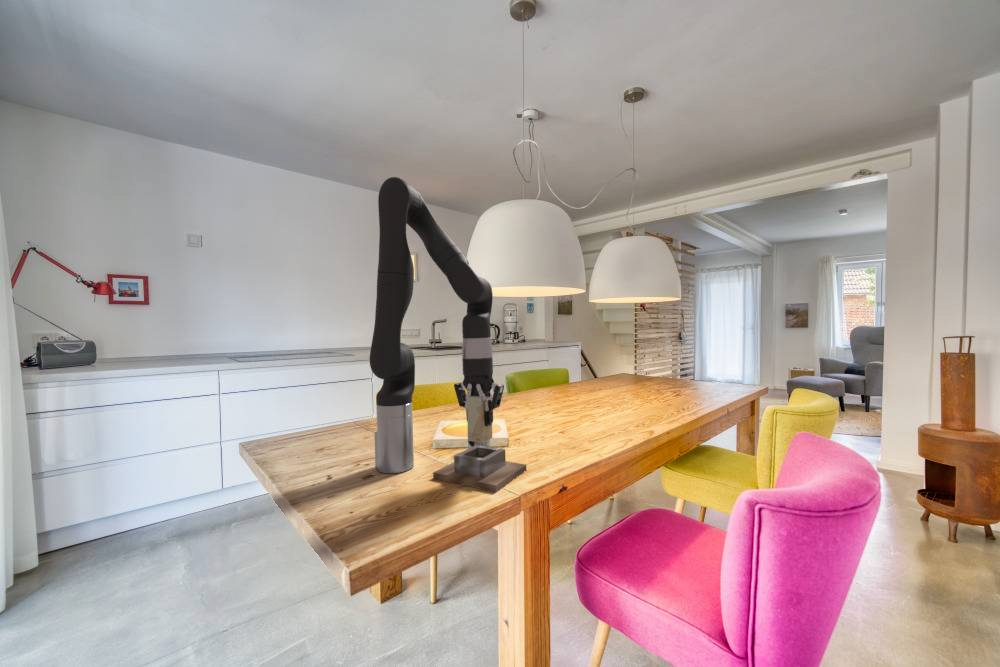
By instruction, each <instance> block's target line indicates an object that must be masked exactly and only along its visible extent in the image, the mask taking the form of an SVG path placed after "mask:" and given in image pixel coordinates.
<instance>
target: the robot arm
mask: <svg viewBox="0 0 1000 667" xmlns="http://www.w3.org/2000/svg"><path fill="white" fill-rule="evenodd" d="M377 197H378V198H377V199H378V201H377V204H378V206H377V207H378V222H379V227H378V228H379V239H378V240H379V243H378V266H377V277H376V279H377V280H376V301H375V313H374V315H375V317H374V326H373V332H372V340H371V344H370V345H371V346H370V352H369V366H370V370H371V372H372V373H373V375H374V376H376V377H377V378H378V379H381V380H382V382H383V384H382V386H381V388H380V389H379V391H378V392H377V393H376V396H375V397H376V398H375V402H376V404H375V405H376V406H375V407H376V431H375V432H374V460H375V461H374V462H375V463H374V465H375V466H374V467H375V469H377V470H378V472H381V473H383V474H398V473H399V474H400V473H403V472H407V471H409V470H411V469H412V468H414V465H415V463H414V459H415V458H414V430H413V429H414V421H413V420H414V418H413V417H414V416H413V394H414V390H415V384H416V383H415V382H416V380H415V379H416V367H415V366H416V364H415V362H416V361H415V355H414V352H413V350H412V349H411V347H410V346H409V345H408V344H406V343H403V342H401V337H402V336H401V335H402V326H403V325H402V324H403V320H404V318H405V316H406V314H407V311H408V308H409V306H410V304H411V301H412V298H413V294H414V293H413V292H414V280H415V271H414V270H415V269H414V261H413V258H412V253H411V250H410V247H409V244H408V239H407V225H408V226H409V227H410V228H411V229H412V230H413V231H414V232H415V233H416V234H417V235H418V237H419V238H420V240H421V241H422V243H423V245H424V247H425V249H426V251H427V253H428V255H429V257H430V258H431V260H432V261H433V262H434V263H435V265H436V266H437V267H438V269H439V270H440V271H441V272H442V273H443V275H445V277H446V278H447V281H448V283H449V284H450V286H451V289H453V291H454V293H455V294H456V295H457V298H459V299H460V300H461V301H462V302H464V303H466V315H464V316H463V318H462V325H461V326H462V328H461V329H462V330H461V331H462V332H461V333H462V344H461V355H462V356H461V357H462V358H461V360H462V362H461V363H462V375H463V380H462V381H461V382H457V383H454V384H453V388H454V392H455V395H456V399H457V403H458V405H459V406H460V407H463V408H464V409H465V414H466V418H467V397H468V396H480V397H482V401H483V403H484V409H485V411H484V419H485V426H490V425H491V424H492V425H493V422H494V410H495V409H497V408H500V406H501V402H502V398H503V393H504V391H505V390H504V388H505V385H504V384H503V383H500V384H499V383H496V382H495V381H494V379H493V373H494V364H493V362H494V361H493V344H492V338H491V337H492V335H491V316H492V308H493V298H494V297H493V288H492V286H491V284H490V282H489V281H488V280H487V279H485V278H483V277H480V276H478V274H477V273H476V272H475V271H474V270H473V268H472V267H471V266H470V265H469V264H470V263H469V260H468V258H467V257H466V256H465V254H464V253H463V252H462V250H461V249H460V248H459V247H458V246H457V245H456V243H455V242H454V241H453V240H452V238H451V237H450V236H449V235H448V234H447V233H446V232H445V230H444V229H443V228H442V227H441V226H440V224H439V223H438V222H437V220H436V219H435V217H434V215H433V214H432V212H431V210H430V209H429V206H428V205H427V203H426V202H425V200H424V198H423V196H422V194H421V193H420V192H419V191H418V189H417V188H416V187H414V186H412V185H411V184H410V183H409V182H407V181H406V180H404V179H403V178H400V177H396V176H392V177H389V178H387V179H386V180H384V181H383V183H382V184H381V185H380V188H379V192H378V196H377ZM491 390H492V393H491ZM487 395H489V397H488V398H486V397H485V396H487Z"/></svg>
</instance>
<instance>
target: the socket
mask: <svg viewBox="0 0 1000 667" xmlns="http://www.w3.org/2000/svg"><path fill="white" fill-rule="evenodd" d="M453 460H454V461H453V462H451V463H449V464H447V465H445V466H444V467H441V468H438V469H437V470H436V471H433V472H432V475H433V476H432V478H434V480H438V479H439V480H438V481H442V480H444V481H443V482H447V481H448V483H451V484H456V483H457V485H461V484H462V486H465V485H466V487H470V486H471V487H470V488H475V487H476V489H479V488H480V490H484V489H485V491H488V490H489V492H493V491H494V492H493V493H497V492H499V491H500V490H501V488H502V487H503V486H504V487H506V486H507V485H508V484H510V483H511V482H513V481H514V480H516V479H517V478H518V477H519V475H520V474H521V475H523V474H524V473H525V472H527V464H526V463H525V464H524V463H519V462H513V461H509V460H508V461H507V460H506V449H504V448H497V447H492V446H490V447H486V446H479V445H476V446H473V447H471V448H469V449H468V448H467V449H466V450H463V451H461V452H459V453H457V454H454V458H453ZM524 471H525V472H524ZM523 472H524V473H523ZM521 475H520V476H521ZM517 476H518V477H517ZM516 477H517V478H516ZM513 479H514V480H513ZM512 480H513V481H512ZM510 481H511V482H510ZM509 482H510V483H509ZM506 484H507V485H506ZM505 485H506V486H505ZM504 487H503V488H504ZM503 488H502V489H503ZM498 490H499V491H498Z"/></svg>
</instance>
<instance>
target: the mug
mask: <svg viewBox="0 0 1000 667" xmlns="http://www.w3.org/2000/svg"><path fill="white" fill-rule="evenodd" d="M476 445H479V446H486V447H491V439H489V440H487V441H484V442H482V443H481V442H474V441H468V440H467V449H469V448H471V447H473V446H476Z"/></svg>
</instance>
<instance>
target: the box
mask: <svg viewBox="0 0 1000 667" xmlns="http://www.w3.org/2000/svg"><path fill="white" fill-rule="evenodd" d="M485 397H486V398H488V397H489V395H487V396H485ZM484 411H485V409H484V403H483V401H482V397H480V396H468V397H467V417H466V422H467V442H468V441H474V442H481V443H482V442H484V441H487V440H489V439H490V440H491V439H493V423H492V424H491V425H490V426H485V419H484Z"/></svg>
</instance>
